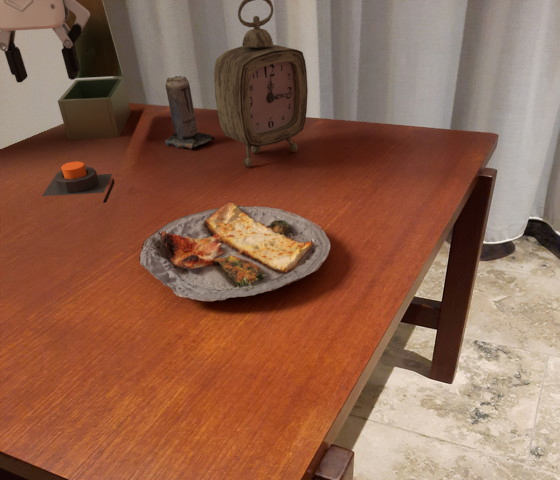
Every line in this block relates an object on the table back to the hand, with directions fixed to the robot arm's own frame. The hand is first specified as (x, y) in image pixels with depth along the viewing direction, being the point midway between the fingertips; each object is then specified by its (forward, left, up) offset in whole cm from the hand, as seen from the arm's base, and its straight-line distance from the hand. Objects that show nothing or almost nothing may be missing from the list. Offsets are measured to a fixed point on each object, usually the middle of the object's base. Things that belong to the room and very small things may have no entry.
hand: (48, 77), depth 81 cm
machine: (-2, +31, -18) cm, 36 cm away
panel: (0, 0, -18) cm, 18 cm away
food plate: (+26, -25, -18) cm, 40 cm away
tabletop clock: (+31, +13, -18) cm, 38 cm away
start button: (0, 0, -15) cm, 15 cm away
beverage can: (+17, +22, -18) cm, 33 cm away
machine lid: (-2, +36, -1) cm, 36 cm away
